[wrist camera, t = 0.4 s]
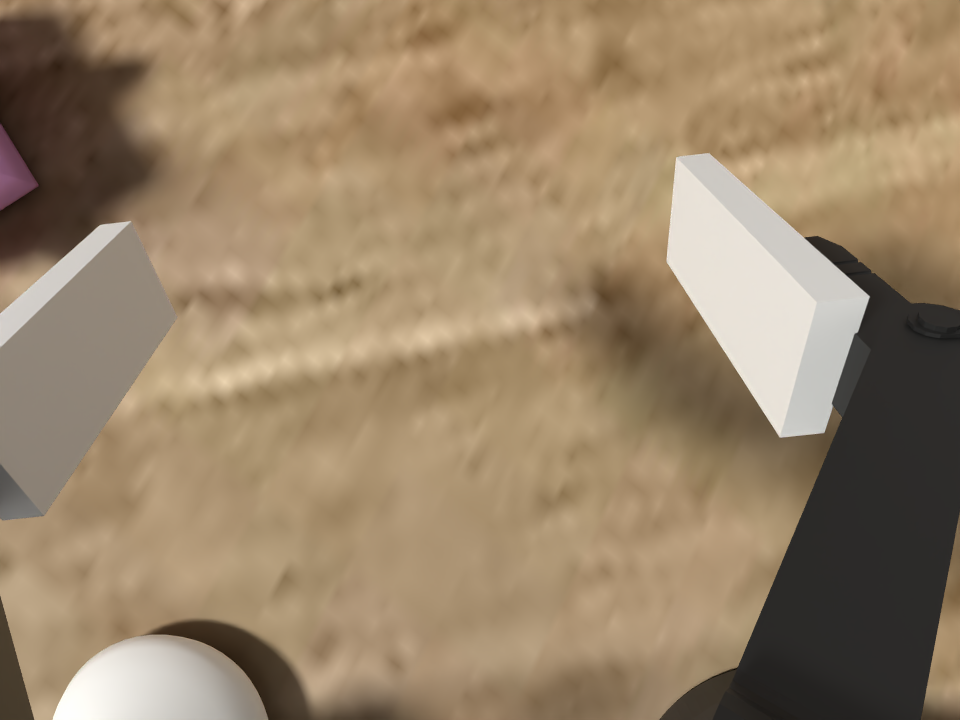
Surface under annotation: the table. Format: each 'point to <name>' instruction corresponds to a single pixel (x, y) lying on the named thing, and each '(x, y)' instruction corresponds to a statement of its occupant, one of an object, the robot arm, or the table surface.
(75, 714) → the flower in vase
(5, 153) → the teapot
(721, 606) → the table surface
